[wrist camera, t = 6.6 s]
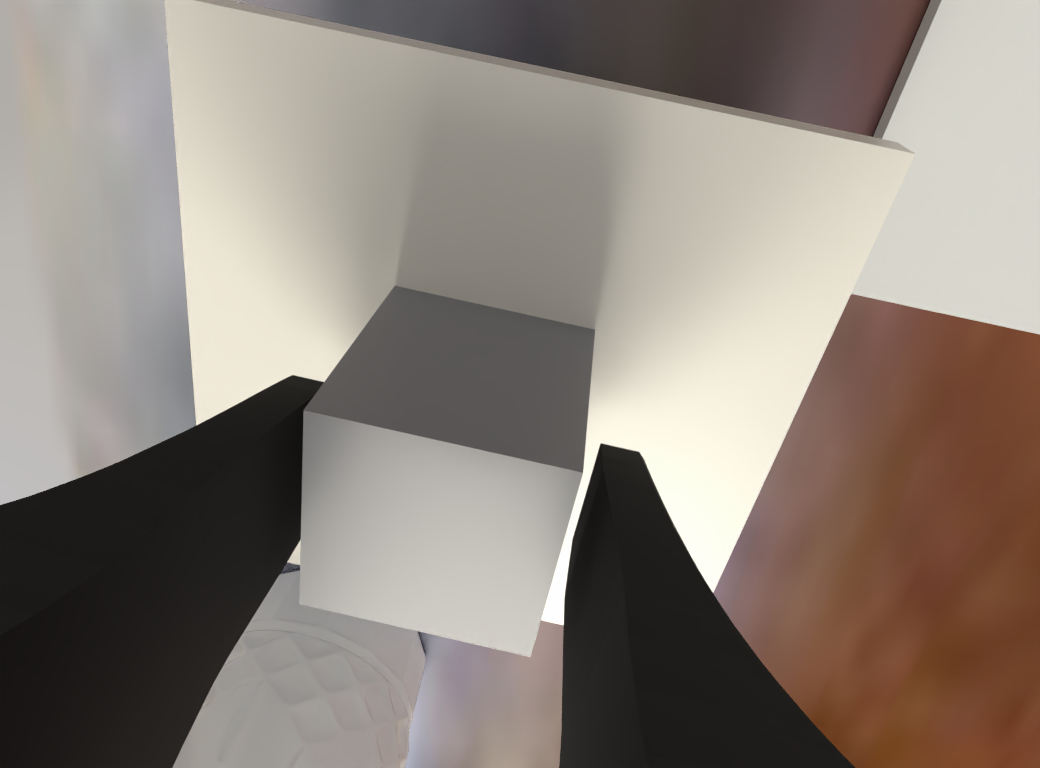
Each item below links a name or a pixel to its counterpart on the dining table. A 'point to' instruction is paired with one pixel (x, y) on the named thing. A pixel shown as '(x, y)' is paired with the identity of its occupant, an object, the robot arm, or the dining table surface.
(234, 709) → the white cup
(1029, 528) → the dining table surface
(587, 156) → the lid
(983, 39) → the cream square tray
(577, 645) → the robot arm
